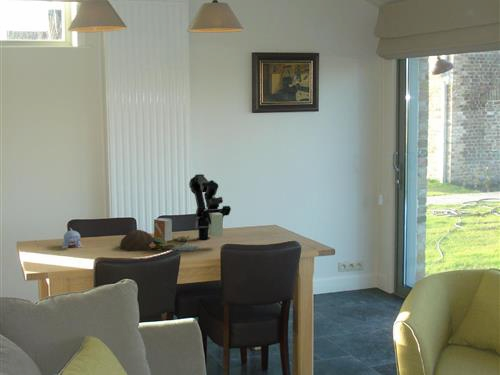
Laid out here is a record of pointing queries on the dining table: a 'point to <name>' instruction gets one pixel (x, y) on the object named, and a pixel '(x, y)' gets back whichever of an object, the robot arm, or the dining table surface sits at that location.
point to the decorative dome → (136, 241)
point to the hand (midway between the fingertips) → (216, 223)
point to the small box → (163, 228)
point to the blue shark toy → (71, 239)
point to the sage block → (216, 224)
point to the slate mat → (185, 248)
